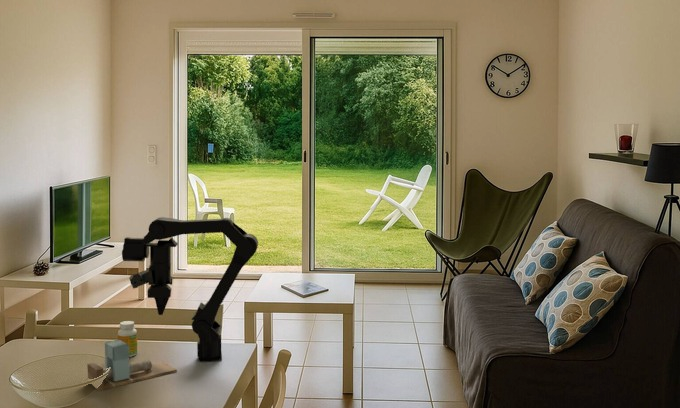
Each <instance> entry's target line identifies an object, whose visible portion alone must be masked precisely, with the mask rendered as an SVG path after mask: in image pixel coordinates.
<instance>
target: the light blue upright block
mask: <svg viewBox="0 0 680 408" xmlns="http://www.w3.org/2000/svg"><path fill="white" fill-rule="evenodd" d="M104 355H105V356H104V357H105V359H104V360H105V361H104V362H105V369H106V368H109V367H111V369H112V368H113V381H119V380H124V379H128V378H130V371H129V364H130V357H129V345H128V344H126V343H124V342H123V341H121V340H118V339H116V340H111V341H106V342H104Z"/></svg>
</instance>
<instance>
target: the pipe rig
mask: <svg viewBox="0 0 680 408" xmlns="http://www.w3.org/2000/svg"><path fill="white" fill-rule="evenodd" d="M86 366H87V379H88V378H89V379H94V378H97V377H99V376H101V375H103V373H105V372H106V371H107V370H108V369H107V370H106V369H104V368H103V367H102V366H100V365H99V364H97V363H96V362H90V363H87V365H86ZM129 371H130V378H128V379H124V380H119V381H113V368H112V369H110V371H109V373H108V375H107V376H106V378H105V379H104V380H103V382H102V384H101V385H100V386H99V387H98V388H97V389H96V390H97V391H104V390H108V389H112V388H115V387H120V386H123V385H124V386H125V385H127V384H128V385H129V384H132V383H134V382H140V381H144V380H148V379H152V378H155V377H156V378H157V377H160V376H165V375H168V374H171V373H177V372H178V370H177V368H175V367H173V366H172V365H169V364H168V363H166V362H164V361H160V362H157V363H152V361H151V360H150V359H147V360H143V361H139V362H134V363H129Z"/></svg>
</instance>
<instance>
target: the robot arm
mask: <svg viewBox="0 0 680 408" xmlns="http://www.w3.org/2000/svg"><path fill="white" fill-rule="evenodd" d="M217 233H218V234H219V233H221V234H223V235H224V236H226V238H227V239H228V240H229V241H230V242H232V244H233V245H234V246H236V247H235V249H234V253H233V256H232V258H231V261H230V263H229V264H228V266H227V268H226V270H225V271H224V274H223V275H222V277H221V279H220V281H219V282H218V284H217V286H216V287H215V289H214V291H213V293H212V294H211V297H210V298H209V299H208V301H206V303H205V304H204V303H203V302H200V303H199V305H198V307H197V309H196V311H195V312H194V313H193V315H192V318H191V320H192V323H191V329H192V331H193V333H195V334H196V335H197V336H198V339H199V341H197V345H196V348H197V350H196V352H197V353H196V354H197V356H196V357H197V358H198V361H199V362H211V361H212V362H213V361H222V360H223V354H222V335H221V334H220V333H221V330H222V324H220V323H219V322H217V321H216V318H217V315H218V312H219V309H220V307H221V305H222V303H223V301H224V300H225V298H226V296H227V295H228V293H229V291H230V289H231V287H232V286H233V284H234V283H235V280H236V279H237V277H238V276H239V274H240V271H241V270H242V269H243V267H245V265H246V264H247V263H248V262H249V261H250V260H251V258H252V257H253V256H254V255H255V254H256V252H257V249H258V247H259V241H258V239H257V236H255V234H252V233H248V232H246V231H245V230H244V229H243V228H242V227H241V226H239V225H238V224H236V223H235V222H234V221H233V220H232V219H231V218H229V217H224V218H223V217H222V218H211V219H210V218H209V219H208V218H207V219H205V218H204V219H190V220H188V219H187V220H186V219H185V220H184V219H183V220H182V219H176V218H171V217H165V216H164V217H163V216H162V217H158V218H156V219H154V220H153V221H151V223H150V224H149V225H148V232H147V233H146V235H144V236H143V237H140V238H139V237H127V236H126V237H124V243H123V246H122V250H121V255H122V256H121V259H122V261H123V262H145V261H146V259H148V258H149V257H150V259H149V267H148V269H146V270H141V271H139V272H136V273H133V274H132V275H129V281H130V285H131V286H132V289H134V290H135V289H137V288H139V287H141V286H143V285H146V284H148V286H149V287H148V288H147V298H148V299H154V301H155V304H156V309H157V313H158V316H163V315H164V312H165V309H166V307H167V306H168V305H167V304H168V302H169V299H170V298H171V297H172V288H171V286H172V285H173V276H172V274H171V273H172V270H171V269H172V263H171V261H172V258H171V257H172V255H171V253H172V251H171V250H172V249H171V248H176V247H177V246H178V245H179V242H177V241H176V240H175V239H174V238H173V237H177V236H180V235H181V236H182V235H193V234H194V235H195V234H196V235H197V234H217ZM166 239H169V240H166ZM155 240H158V241H157V242H154V241H155Z"/></svg>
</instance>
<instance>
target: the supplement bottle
mask: <svg viewBox="0 0 680 408" xmlns="http://www.w3.org/2000/svg"><path fill="white" fill-rule="evenodd" d="M119 328H120V329H119V330H118V331H117V340H121V341H123V342H124V343H126V344H128V345H129V358H131V357H134V356H136V355H137V354H138V331H137V329H136V328H135V321H133V320H126V321H125V320H124V321H121V322H119Z"/></svg>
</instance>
